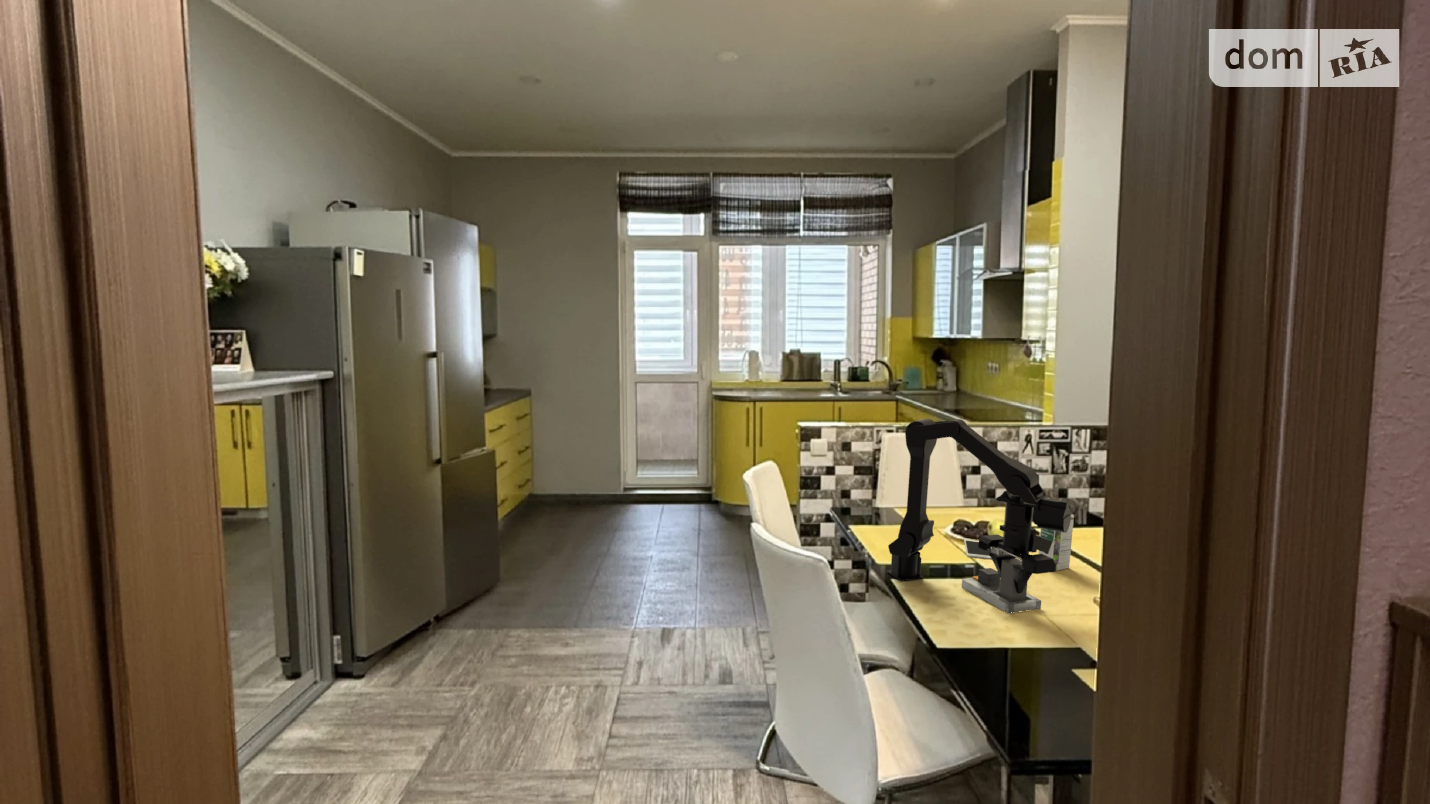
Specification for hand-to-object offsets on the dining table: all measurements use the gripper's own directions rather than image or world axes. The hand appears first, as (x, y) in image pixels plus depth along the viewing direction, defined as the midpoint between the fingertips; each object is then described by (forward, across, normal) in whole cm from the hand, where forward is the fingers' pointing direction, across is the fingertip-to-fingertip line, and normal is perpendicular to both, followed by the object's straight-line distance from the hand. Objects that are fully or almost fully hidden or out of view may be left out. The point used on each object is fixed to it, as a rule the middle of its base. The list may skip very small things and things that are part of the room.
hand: (1012, 589), depth 166 cm
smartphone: (+4, +34, -18) cm, 39 cm away
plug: (+2, 0, 0) cm, 3 cm away
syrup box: (+4, +18, -28) cm, 34 cm away
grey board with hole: (+4, +4, 0) cm, 5 cm away
